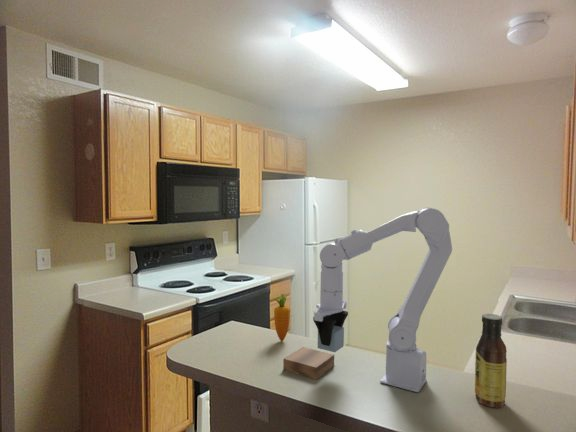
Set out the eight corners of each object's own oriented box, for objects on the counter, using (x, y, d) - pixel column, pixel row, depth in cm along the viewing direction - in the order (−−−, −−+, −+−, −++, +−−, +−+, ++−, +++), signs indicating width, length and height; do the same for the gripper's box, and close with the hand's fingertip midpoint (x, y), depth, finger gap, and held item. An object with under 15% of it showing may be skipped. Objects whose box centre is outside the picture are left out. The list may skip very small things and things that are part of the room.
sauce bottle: (478, 392, 95) (481, 309, 94) (508, 401, 91) (511, 314, 90) (470, 403, 90) (473, 316, 89) (501, 413, 86) (504, 321, 85)
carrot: (283, 345, 124) (283, 297, 123) (270, 341, 127) (271, 295, 126) (292, 340, 128) (293, 294, 127) (280, 337, 131) (280, 292, 130)
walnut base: (334, 365, 110) (334, 354, 110) (316, 379, 101) (316, 367, 101) (302, 357, 115) (302, 346, 115) (283, 369, 107) (283, 358, 107)
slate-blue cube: (343, 346, 105) (343, 327, 105) (335, 352, 101) (335, 332, 101) (326, 342, 108) (326, 324, 107) (317, 348, 104) (317, 329, 103)
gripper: (330, 282, 112) (329, 330, 112) (303, 293, 100) (303, 346, 100) (353, 286, 108) (352, 335, 109) (329, 297, 96) (328, 353, 97)
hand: (330, 341), depth 104 cm, fingers closed on slate-blue cube, 5 cm apart
